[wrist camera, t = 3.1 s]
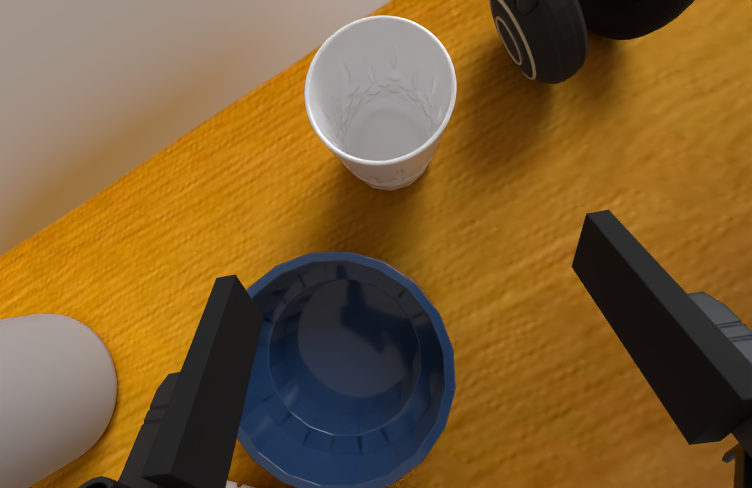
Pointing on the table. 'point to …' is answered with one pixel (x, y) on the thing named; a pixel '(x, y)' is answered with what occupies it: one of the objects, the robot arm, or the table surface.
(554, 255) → the table surface
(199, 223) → the table surface
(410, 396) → the navy blue bowl
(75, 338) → the cylinder vase
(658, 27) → the headphones
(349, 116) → the white cup
